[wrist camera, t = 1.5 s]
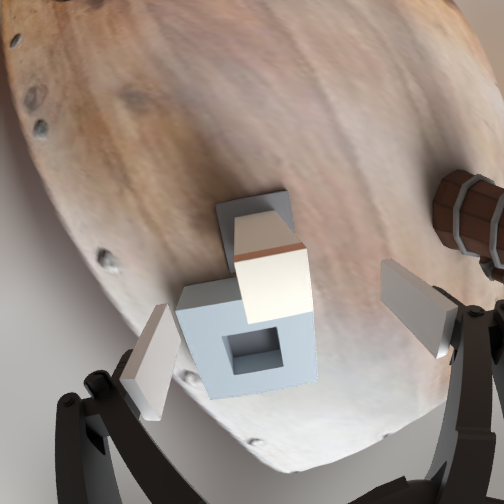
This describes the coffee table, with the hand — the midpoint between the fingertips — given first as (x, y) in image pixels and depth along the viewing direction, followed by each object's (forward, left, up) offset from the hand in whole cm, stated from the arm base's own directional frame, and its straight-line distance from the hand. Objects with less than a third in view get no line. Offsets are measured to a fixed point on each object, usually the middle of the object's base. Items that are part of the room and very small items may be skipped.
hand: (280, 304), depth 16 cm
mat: (0, 0, -17) cm, 16 cm away
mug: (+4, +31, -17) cm, 35 cm away
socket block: (+12, -3, -17) cm, 20 cm away
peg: (0, 0, -16) cm, 15 cm away
